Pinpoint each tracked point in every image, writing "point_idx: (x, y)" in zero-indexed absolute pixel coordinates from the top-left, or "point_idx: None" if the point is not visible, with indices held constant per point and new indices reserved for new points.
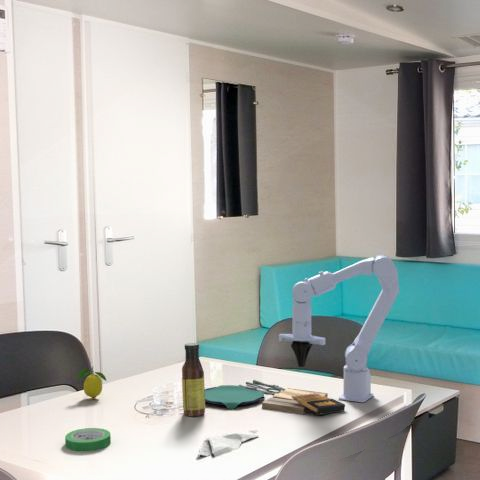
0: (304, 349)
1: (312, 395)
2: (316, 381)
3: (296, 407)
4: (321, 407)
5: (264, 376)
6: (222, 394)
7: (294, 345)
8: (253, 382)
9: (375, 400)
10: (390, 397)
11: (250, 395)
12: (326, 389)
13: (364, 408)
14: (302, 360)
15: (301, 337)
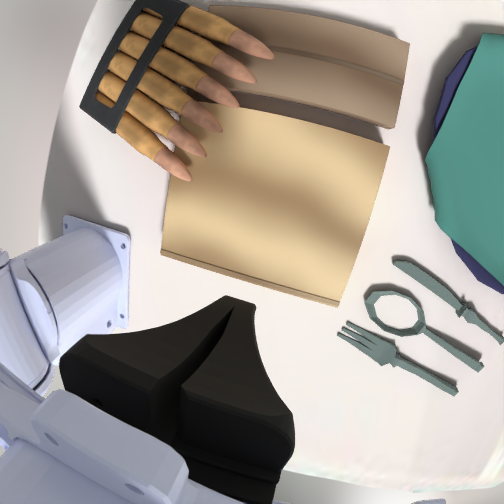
0: (113, 338)
1: (187, 134)
2: None
3: (240, 6)
4: (136, 1)
5: (411, 444)
6: None
7: (228, 406)
8: (455, 387)
9: None
10: None
11: (481, 196)
12: None
13: (57, 159)
14: (201, 310)
15: (44, 462)
